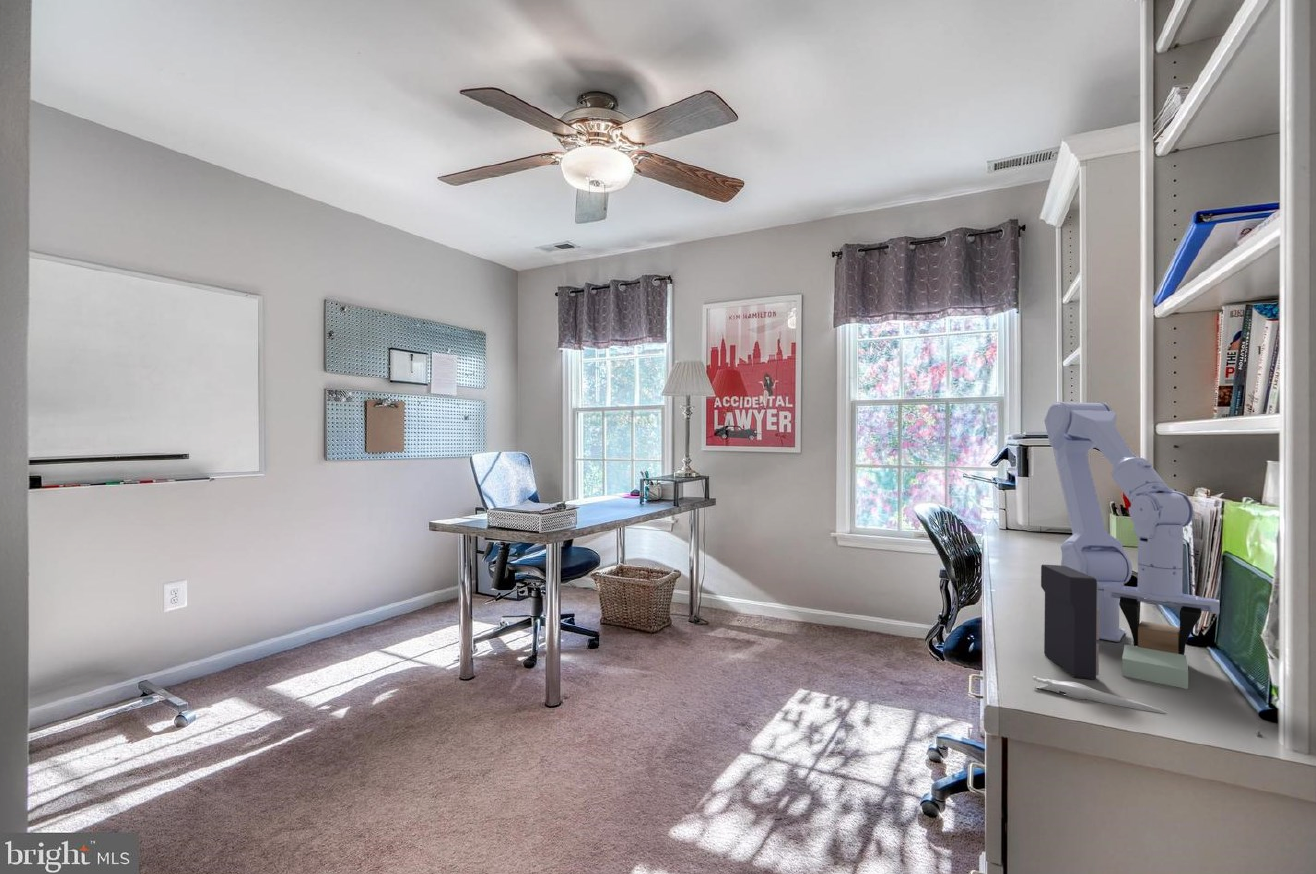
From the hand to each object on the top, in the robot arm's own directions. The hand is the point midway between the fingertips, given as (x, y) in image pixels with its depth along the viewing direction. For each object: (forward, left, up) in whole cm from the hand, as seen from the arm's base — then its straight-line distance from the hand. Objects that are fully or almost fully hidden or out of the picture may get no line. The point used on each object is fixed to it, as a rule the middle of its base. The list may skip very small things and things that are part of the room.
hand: (1158, 649), depth 101 cm
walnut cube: (0, 0, -1) cm, 1 cm away
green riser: (+9, 0, -2) cm, 9 cm away
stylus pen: (+28, -5, -2) cm, 28 cm away
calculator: (+15, -10, -2) cm, 18 cm away
